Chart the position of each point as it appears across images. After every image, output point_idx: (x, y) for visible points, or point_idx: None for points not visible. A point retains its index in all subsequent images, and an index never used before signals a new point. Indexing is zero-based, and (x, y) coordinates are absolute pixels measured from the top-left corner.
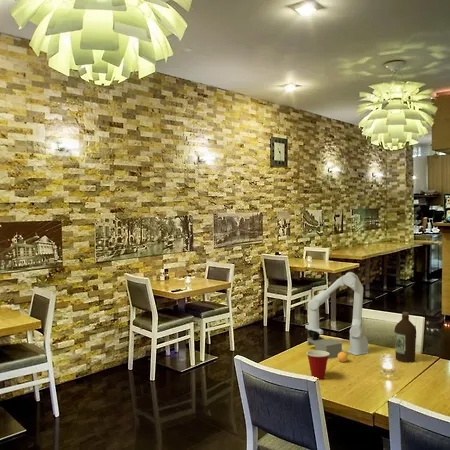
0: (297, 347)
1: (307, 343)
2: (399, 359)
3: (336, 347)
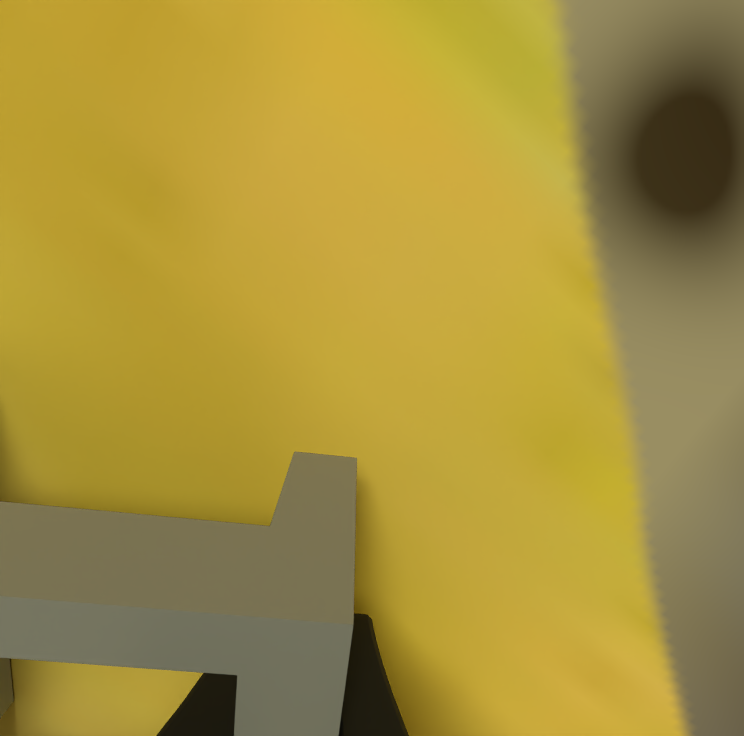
0: (570, 272)
1: (353, 482)
2: None
3: None
